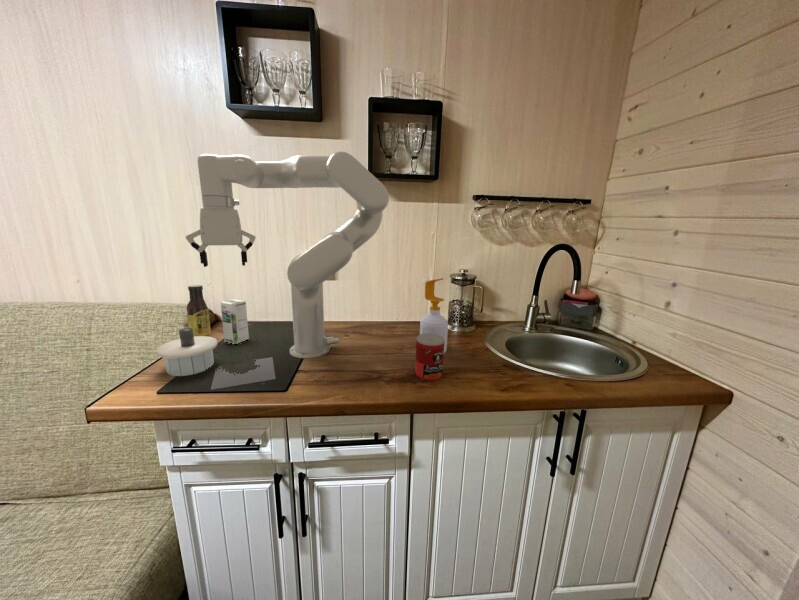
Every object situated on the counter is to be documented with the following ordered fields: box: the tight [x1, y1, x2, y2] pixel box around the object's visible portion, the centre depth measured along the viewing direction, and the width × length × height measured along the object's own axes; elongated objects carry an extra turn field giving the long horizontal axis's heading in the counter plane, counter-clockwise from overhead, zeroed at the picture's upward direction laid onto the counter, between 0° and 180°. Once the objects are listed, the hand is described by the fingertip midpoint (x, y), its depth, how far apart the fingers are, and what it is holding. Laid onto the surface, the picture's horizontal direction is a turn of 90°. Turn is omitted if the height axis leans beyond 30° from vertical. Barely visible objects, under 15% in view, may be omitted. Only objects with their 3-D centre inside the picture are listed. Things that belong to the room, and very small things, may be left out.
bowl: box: [163, 349, 215, 377], centre depth 89 cm, size 11×11×6 cm
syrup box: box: [220, 299, 250, 345], centre depth 109 cm, size 6×6×14 cm
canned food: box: [414, 333, 445, 382], centre depth 88 cm, size 8×8×11 cm
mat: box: [210, 356, 276, 391], centre depth 88 cm, size 15×15×1 cm
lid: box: [156, 327, 218, 359], centre depth 88 cm, size 14×14×6 cm
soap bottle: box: [419, 278, 449, 354], centre depth 104 cm, size 9×9×25 cm
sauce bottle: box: [186, 284, 212, 337], centre depth 106 cm, size 6×6×20 cm
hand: (225, 265), depth 91 cm, fingers open, 9 cm apart
